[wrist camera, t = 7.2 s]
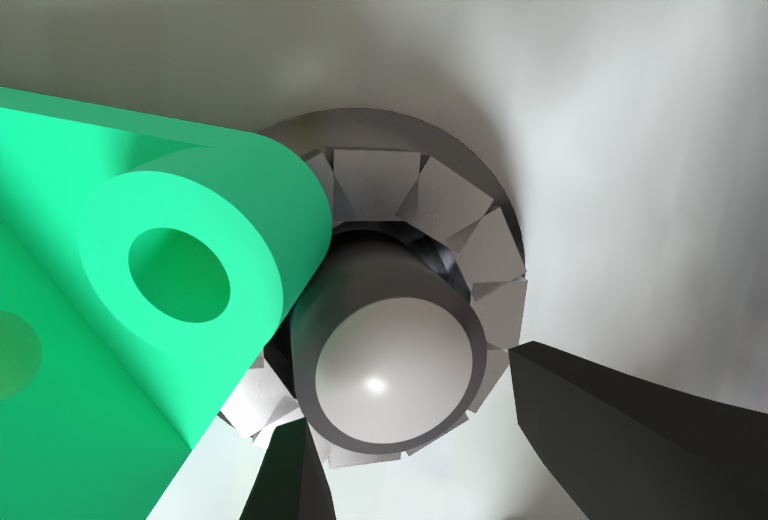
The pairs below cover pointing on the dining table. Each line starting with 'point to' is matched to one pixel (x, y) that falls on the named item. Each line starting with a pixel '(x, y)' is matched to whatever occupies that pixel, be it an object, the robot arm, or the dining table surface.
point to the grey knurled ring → (412, 227)
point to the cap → (382, 347)
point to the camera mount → (134, 293)
